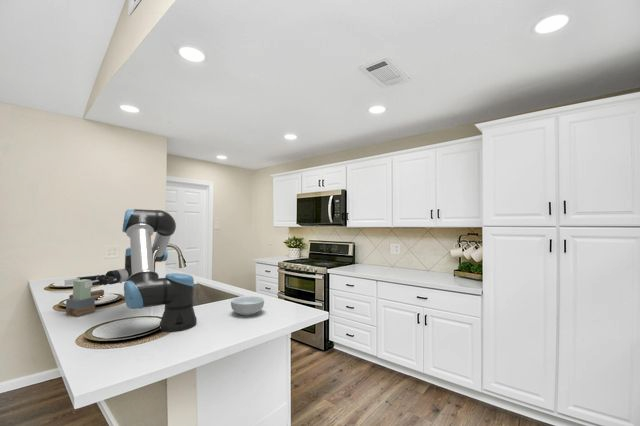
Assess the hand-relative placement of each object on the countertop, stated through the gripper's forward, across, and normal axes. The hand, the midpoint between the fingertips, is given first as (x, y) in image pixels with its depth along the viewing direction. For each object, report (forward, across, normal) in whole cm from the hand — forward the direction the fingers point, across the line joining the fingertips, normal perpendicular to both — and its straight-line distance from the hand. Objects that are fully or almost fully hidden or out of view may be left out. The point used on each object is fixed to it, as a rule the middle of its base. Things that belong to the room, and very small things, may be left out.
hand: (74, 284), depth 141 cm
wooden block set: (-22, +18, -16) cm, 33 cm away
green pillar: (-4, 0, -8) cm, 9 cm away
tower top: (-4, 0, -12) cm, 12 cm away
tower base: (-4, 0, -16) cm, 16 cm away
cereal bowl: (-32, -78, -16) cm, 86 cm away
